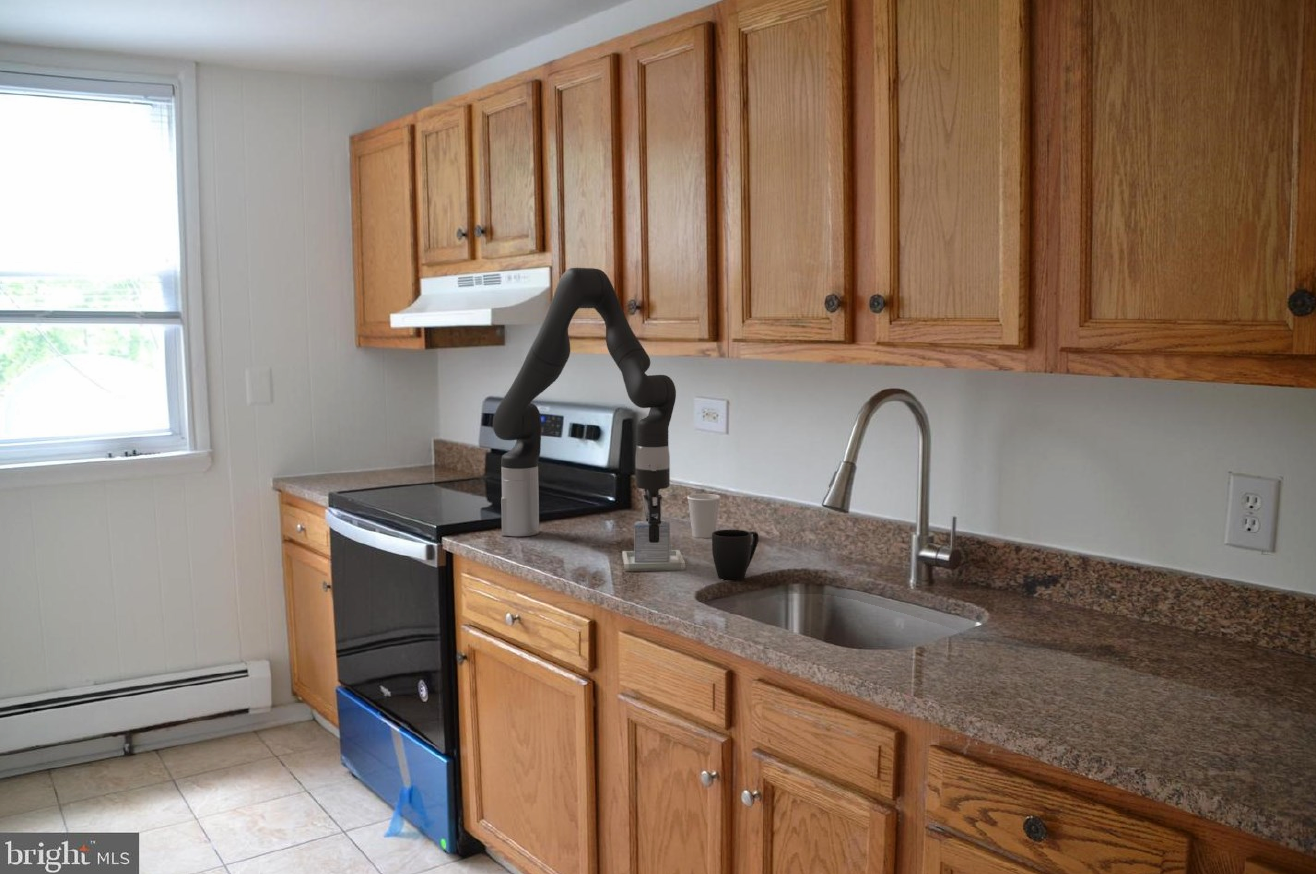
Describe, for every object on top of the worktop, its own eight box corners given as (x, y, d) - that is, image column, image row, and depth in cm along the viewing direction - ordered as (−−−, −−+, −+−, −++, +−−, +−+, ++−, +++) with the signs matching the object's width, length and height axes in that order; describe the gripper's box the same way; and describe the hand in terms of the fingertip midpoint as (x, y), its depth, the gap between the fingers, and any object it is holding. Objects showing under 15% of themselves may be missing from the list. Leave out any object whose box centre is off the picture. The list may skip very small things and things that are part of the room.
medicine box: (670, 559, 238) (670, 520, 237) (670, 563, 233) (670, 524, 232) (635, 559, 238) (634, 520, 237) (634, 563, 234) (634, 524, 233)
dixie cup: (710, 540, 261) (710, 500, 260) (681, 536, 265) (681, 497, 264) (726, 534, 268) (726, 495, 267) (697, 531, 272) (697, 492, 271)
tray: (625, 571, 229) (625, 564, 229) (622, 558, 242) (622, 551, 242) (685, 570, 230) (685, 562, 230) (679, 556, 243) (679, 550, 243)
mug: (771, 575, 225) (771, 531, 224) (731, 584, 217) (731, 538, 216) (743, 568, 231) (743, 525, 230) (703, 577, 223) (703, 532, 222)
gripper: (633, 461, 240) (633, 532, 242) (637, 470, 226) (637, 545, 228) (666, 461, 241) (666, 531, 243) (672, 470, 227) (672, 545, 228)
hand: (652, 538), depth 235 cm, fingers open, 8 cm apart
